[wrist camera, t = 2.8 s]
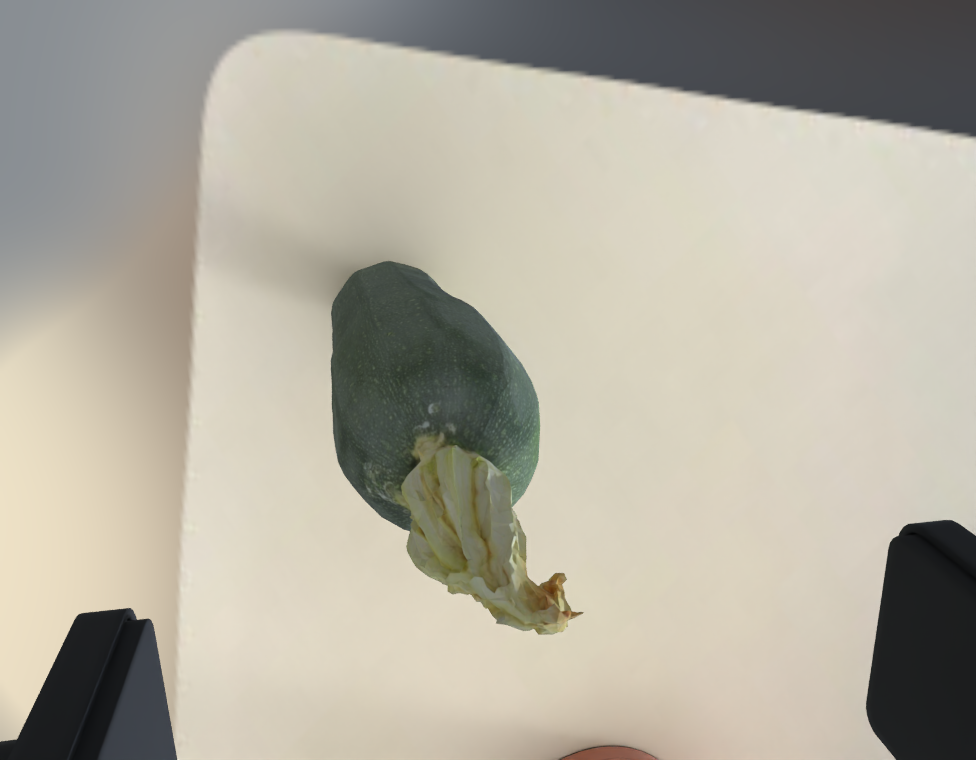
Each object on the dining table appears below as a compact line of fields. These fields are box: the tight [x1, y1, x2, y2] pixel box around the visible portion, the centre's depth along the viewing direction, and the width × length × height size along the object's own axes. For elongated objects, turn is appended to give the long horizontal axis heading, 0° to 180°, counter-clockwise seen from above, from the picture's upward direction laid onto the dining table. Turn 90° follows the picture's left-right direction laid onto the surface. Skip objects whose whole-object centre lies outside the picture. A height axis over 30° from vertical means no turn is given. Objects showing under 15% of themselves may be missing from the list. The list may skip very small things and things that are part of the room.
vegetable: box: [331, 261, 583, 635], centre depth 22 cm, size 4×4×20 cm
